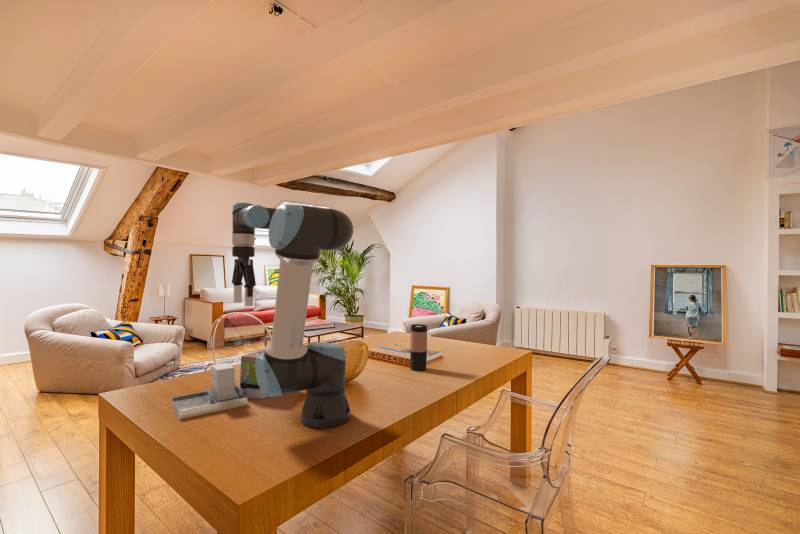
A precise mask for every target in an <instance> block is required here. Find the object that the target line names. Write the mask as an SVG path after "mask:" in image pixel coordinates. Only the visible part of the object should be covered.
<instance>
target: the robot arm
mask: <svg viewBox="0 0 800 534" xmlns="http://www.w3.org/2000/svg"><path fill="white" fill-rule="evenodd" d="M352 222H353V221H352V220H351V218H350V217H349V216H348V215H347V214H346V213H344V212H343V211H341V210H338V209H336V208H325V207H317V206H311V205H310V206H309V205H302V204H282V205H280V206H279V207H278V208H275V207H274V208H273V207H265V206H263V205H259V204H256V205H255V204H253V203H250V202H234V204H233V205H232V234H231V235H232V237H231V240H232V241H231V243H232V245H233V246H232V247H231V248H232V249H231V250H232V251H231V255H232V256H231V257H235V258H236V259H234V263H233V265H234V267H233V272H232V278H231V279H232V280H231V283H232V284H233V304H241V303H243V301H242V297H243V296H242V295H243V291H242V289H243V288H244V307H254V287H256V286H257V283H256V278H255V277H256V274H255V269H254V260H253V259H251V258H254V257H255V251H256V250H255V247H254V246H255V241H256V239H257V237H255V234H256V233H255V230H256V229H258V230H259V229H262V230H263V229H264V230H268V237H269V238H268V243H269V245H270V247H272V248H273V249H275V250H274V251H275V256H276V257H277V258H278V259H279V267H278V269H279V270H278V279H277V287H276V298H275V304H274V306H275V307H274V314H273V315H274V316H273V323H272V331H271V332H272V333H271V341H270V342H269V343H267V344H266V345H265V347H264V348H265V353H264V356H263V355H260V356H258V357H257V359H256V361H255V372H256V378H257V381H258V385H259V387H260V389H261V391H262V393H263V394H264V395H265V396H267V397H266V398H272V397H273V398H274V397H283V396H284V395H287V394H288V395H289V394H293V393H294V394H295V393H298V392H301V391H306V397H305V399H304V402H303V404H302V408H301V412H300V422H301V424H303V425H304V426H306V427H308V428H309V427H310V428H316V429H328V428H335V427H338V426H342V425H344V424H346V423H348V421H350V419H351V407H350V404H349V401H348V398H347V395H346V362H347V358H346V350H345V348H344V346H343V345H340V344H337V343H331V342H322V341H321V342H320V341H317V342H316V341H315V342H309V343H308V344H307V346H306V345H305V344H304V338H305V337H304V335H305V328H306V320H307V312H308V305H309V298H310V297H309V296H310V289H311V288H310V287H311V284H312V283H311V281H312V274H313V265H314V264H315V262H317V261H319V260H320V255H321V251H336V250H340V249H342V248H344V247H346V246H347V245H348V244H349V242H351V240H352V237H353V236H354V225H353V223H352ZM243 280H244V281H243ZM242 281H243V282H244V284H243V282H242Z"/></svg>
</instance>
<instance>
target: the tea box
mask: <svg viewBox="0 0 800 534" xmlns="http://www.w3.org/2000/svg"><path fill="white" fill-rule="evenodd" d="M264 353H265V347H262V348H260V349H257V350H254V351H252V352H250V353H247V354H244V355H241V357H240V376H239V377H240V378H239V380H240V381H239V387H240V388H241V389H243V396H244V397H247V399H258V400H259V399H260V400H264V399H266V398H268V397H267V396H265V395H264V394H263V393H262V391H261V389H260V387H259V385H258V381H257V378H256V372H255V361H256V359H257V357H258V356H260V355H263V356H264Z"/></svg>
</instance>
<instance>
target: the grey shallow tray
mask: <svg viewBox="0 0 800 534" xmlns="http://www.w3.org/2000/svg"><path fill="white" fill-rule="evenodd" d="M171 399H172V401H171V403H172V408H173V410H174V412H175V413H176V416H177V417H178V419H179V420H183V419H189V418H194V417H197V416H202V415H206V414H207V415H208V414H211V413H216V412H221V411H224V410H230V409H235V408H238V407H239V408H240V407H245V406H248V398H247V397H244V396H243V389H241V388H240V385H238V384H237V383H236V382H235V381H234V398H232V399H227V400H222V401H216V399H215V398H214V394H213V393H212V392H211V389H209V388H208V386H204V387H203V391H198V392H192V393H188V394H181V395H176V396H172V397H171Z"/></svg>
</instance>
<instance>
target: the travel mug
mask: <svg viewBox="0 0 800 534" xmlns="http://www.w3.org/2000/svg"><path fill="white" fill-rule="evenodd" d="M409 343H410V346H409V347H410V348H409V349H410V350H409V351H410V352H409V354H410V357H409V358H410V370H411V371H414V372H425V371H426V370H427V357H428V325H426V324H421V323H420V324H419V323H418V324H411V325H410V341H409Z"/></svg>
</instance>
